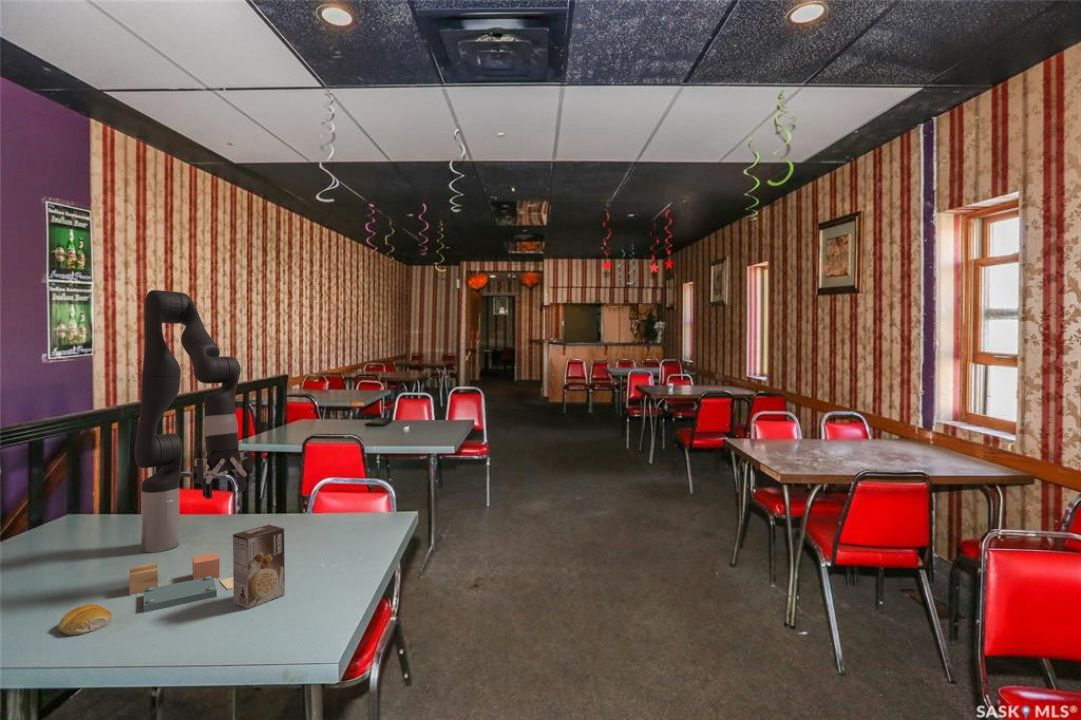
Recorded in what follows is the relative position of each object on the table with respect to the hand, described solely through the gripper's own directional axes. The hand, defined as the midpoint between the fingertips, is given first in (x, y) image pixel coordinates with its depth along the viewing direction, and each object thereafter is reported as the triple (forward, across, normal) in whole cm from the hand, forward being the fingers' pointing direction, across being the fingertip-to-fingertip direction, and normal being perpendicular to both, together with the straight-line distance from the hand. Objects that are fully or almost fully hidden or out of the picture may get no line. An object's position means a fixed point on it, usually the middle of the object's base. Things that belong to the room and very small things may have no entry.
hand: (225, 494), depth 144 cm
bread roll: (+21, +31, 0) cm, 37 cm away
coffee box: (+23, +4, +19) cm, 30 cm away
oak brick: (+20, +16, -10) cm, 27 cm away
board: (+21, +13, +2) cm, 25 cm away
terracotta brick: (+20, +4, -5) cm, 21 cm away
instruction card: (+21, 0, +6) cm, 22 cm away
